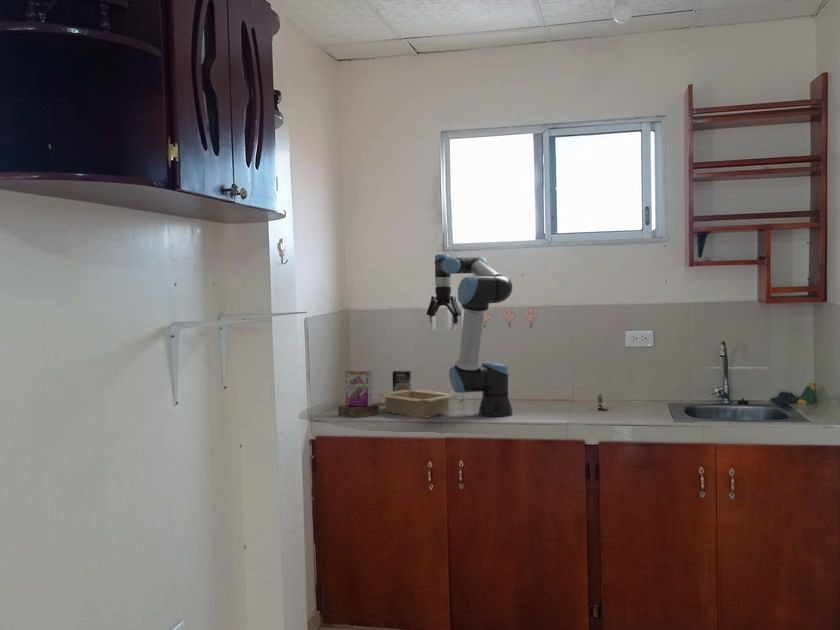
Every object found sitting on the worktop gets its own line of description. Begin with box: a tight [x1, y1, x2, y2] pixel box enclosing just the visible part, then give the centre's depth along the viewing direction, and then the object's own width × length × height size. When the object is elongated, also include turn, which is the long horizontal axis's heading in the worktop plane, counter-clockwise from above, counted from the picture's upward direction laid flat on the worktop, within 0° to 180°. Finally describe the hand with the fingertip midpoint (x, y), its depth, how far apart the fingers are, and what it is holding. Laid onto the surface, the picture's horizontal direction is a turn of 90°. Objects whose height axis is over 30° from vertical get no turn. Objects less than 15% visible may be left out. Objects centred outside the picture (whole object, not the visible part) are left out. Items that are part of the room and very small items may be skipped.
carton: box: [378, 389, 458, 418], centre depth 349 cm, size 34×26×8 cm
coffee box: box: [392, 370, 412, 392], centre depth 376 cm, size 9×6×16 cm
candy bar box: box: [345, 369, 373, 407], centre depth 345 cm, size 11×5×16 cm, turn 70°
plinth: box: [337, 404, 380, 419], centre depth 346 cm, size 13×13×4 cm
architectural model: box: [597, 393, 607, 408], centre depth 348 cm, size 3×7×7 cm, turn 167°
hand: (443, 330), depth 368 cm, fingers open, 13 cm apart
